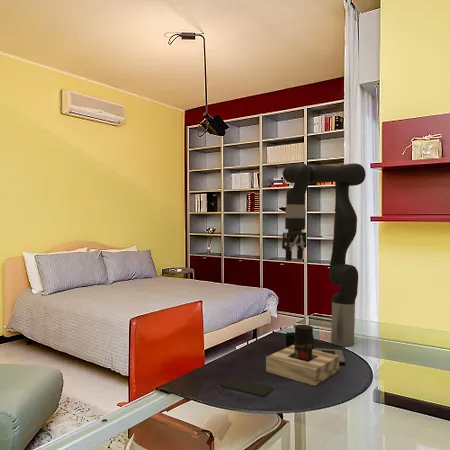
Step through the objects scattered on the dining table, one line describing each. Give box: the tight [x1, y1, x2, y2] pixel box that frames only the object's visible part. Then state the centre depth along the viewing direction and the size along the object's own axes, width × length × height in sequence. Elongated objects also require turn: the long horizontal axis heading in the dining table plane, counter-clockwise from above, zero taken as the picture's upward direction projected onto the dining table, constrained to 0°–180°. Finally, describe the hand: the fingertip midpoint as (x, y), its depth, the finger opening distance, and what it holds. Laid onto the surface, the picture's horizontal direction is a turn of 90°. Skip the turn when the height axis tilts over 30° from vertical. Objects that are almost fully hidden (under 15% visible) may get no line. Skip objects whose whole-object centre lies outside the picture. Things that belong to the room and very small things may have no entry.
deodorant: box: [294, 324, 314, 362], centre depth 141 cm, size 6×6×15 cm
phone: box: [220, 377, 274, 398], centre depth 126 cm, size 7×1×15 cm
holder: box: [265, 345, 340, 387], centre depth 141 cm, size 18×18×5 cm
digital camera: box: [285, 331, 315, 350], centre depth 162 cm, size 10×5×7 cm, turn 82°
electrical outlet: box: [313, 347, 346, 364], centre depth 154 cm, size 13×10×2 cm
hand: (294, 260), depth 157 cm, fingers open, 8 cm apart
